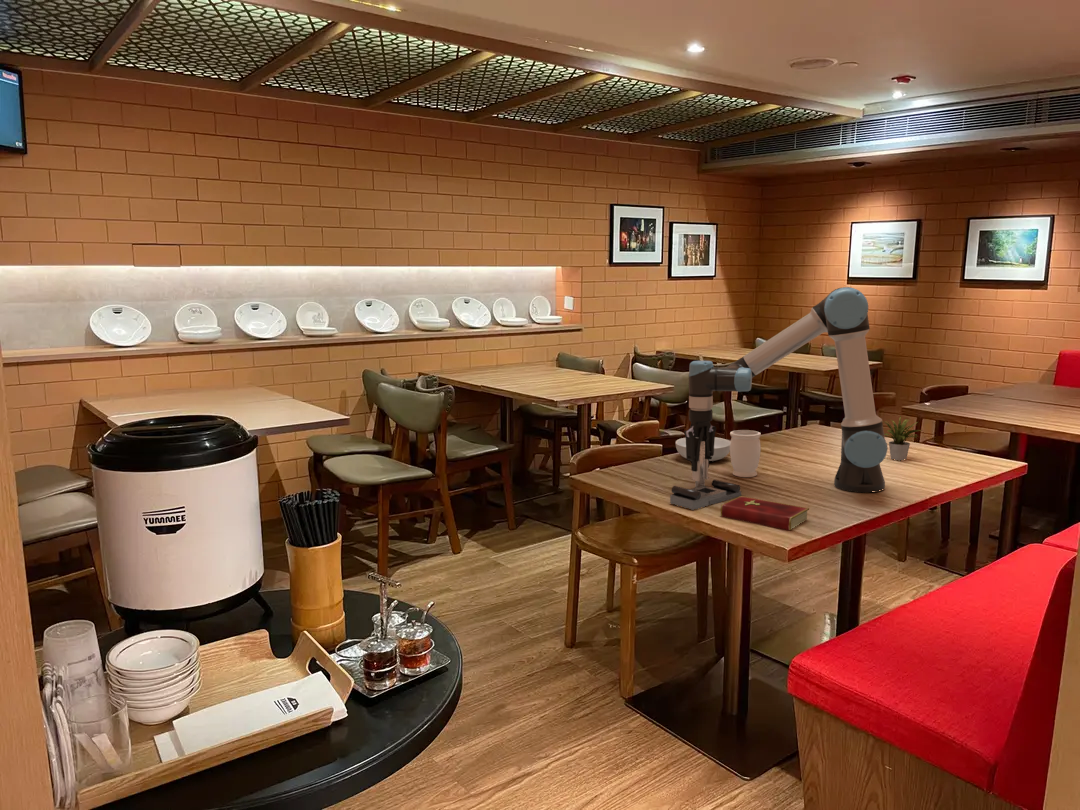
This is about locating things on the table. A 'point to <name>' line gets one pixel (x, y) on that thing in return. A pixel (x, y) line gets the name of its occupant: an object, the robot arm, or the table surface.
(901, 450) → the house plant
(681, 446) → the serving bowl
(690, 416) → the robot arm
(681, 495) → the plate with two rollers
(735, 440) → the jar
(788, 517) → the hardcover book
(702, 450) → the link pin
